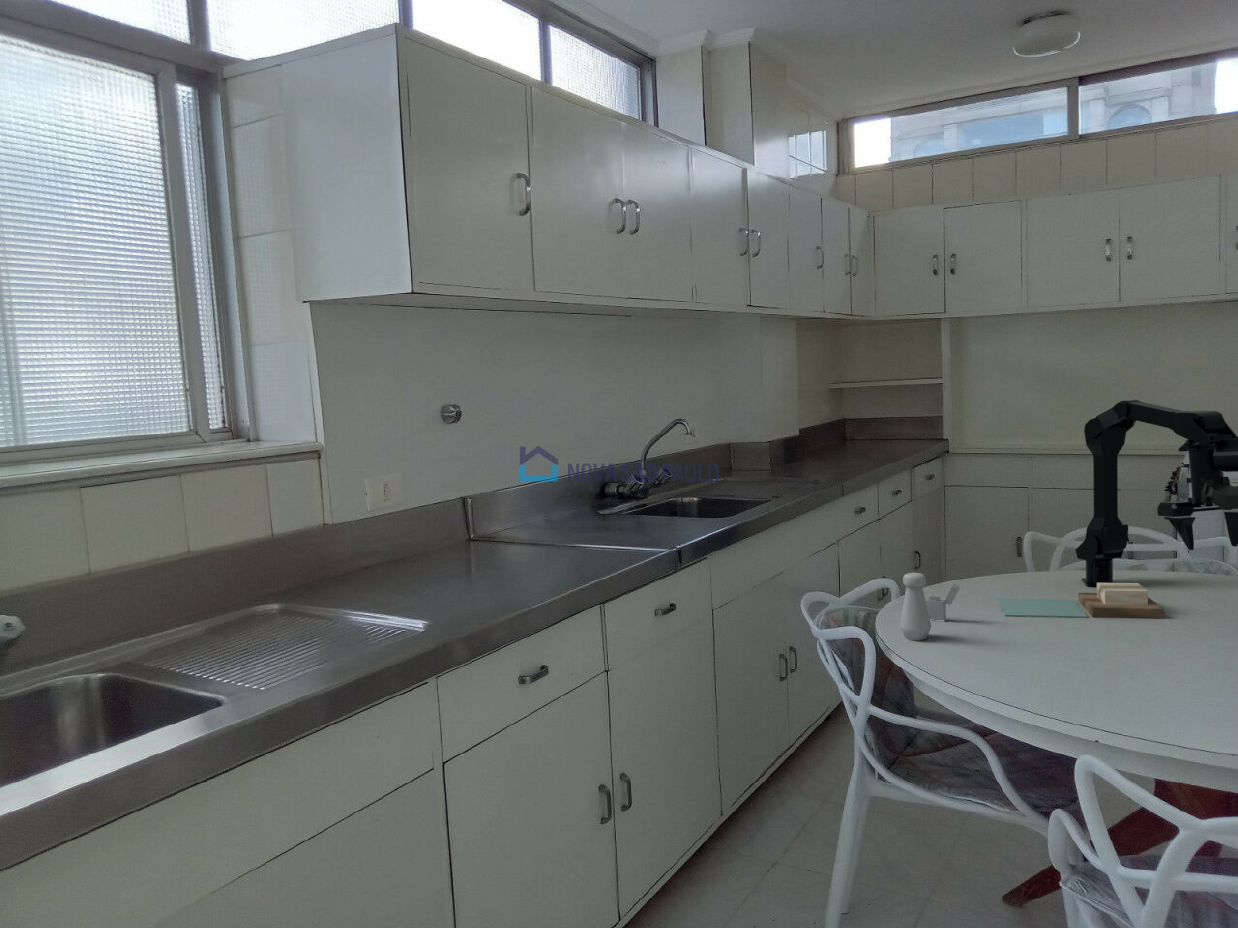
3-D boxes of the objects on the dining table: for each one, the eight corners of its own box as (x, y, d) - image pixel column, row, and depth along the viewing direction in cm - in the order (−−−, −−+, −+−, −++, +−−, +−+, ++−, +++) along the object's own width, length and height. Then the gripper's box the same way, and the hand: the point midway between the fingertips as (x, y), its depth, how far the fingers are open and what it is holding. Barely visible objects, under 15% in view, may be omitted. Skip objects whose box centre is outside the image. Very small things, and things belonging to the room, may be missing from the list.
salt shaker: (931, 634, 181) (930, 570, 179) (931, 642, 175) (930, 577, 174) (901, 632, 183) (899, 570, 181) (900, 641, 177) (898, 576, 176)
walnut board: (1078, 601, 199) (1078, 592, 199) (1144, 602, 196) (1144, 593, 195) (1092, 617, 187) (1092, 607, 186) (1162, 618, 183) (1163, 608, 183)
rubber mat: (996, 599, 204) (996, 598, 204) (1073, 600, 200) (1073, 599, 200) (1005, 616, 191) (1005, 614, 191) (1088, 617, 186) (1088, 616, 186)
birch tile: (1096, 596, 195) (1096, 582, 195) (1137, 596, 193) (1137, 583, 193) (1105, 604, 188) (1105, 590, 188) (1147, 604, 186) (1147, 590, 186)
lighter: (924, 619, 191) (923, 583, 190) (926, 617, 192) (925, 581, 192) (958, 623, 187) (958, 585, 186) (960, 621, 189) (960, 584, 188)
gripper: (1189, 476, 175) (1195, 555, 175) (1281, 468, 176) (1287, 547, 176) (1152, 476, 186) (1158, 550, 186) (1239, 468, 187) (1245, 543, 187)
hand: (1212, 548), depth 184 cm, fingers open, 9 cm apart
